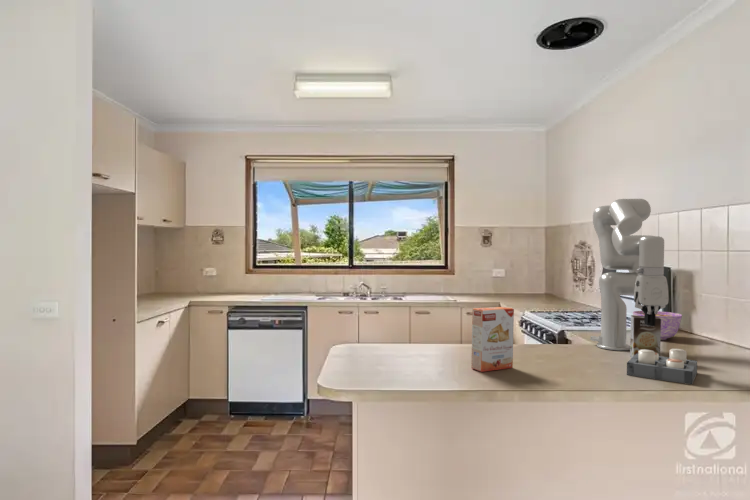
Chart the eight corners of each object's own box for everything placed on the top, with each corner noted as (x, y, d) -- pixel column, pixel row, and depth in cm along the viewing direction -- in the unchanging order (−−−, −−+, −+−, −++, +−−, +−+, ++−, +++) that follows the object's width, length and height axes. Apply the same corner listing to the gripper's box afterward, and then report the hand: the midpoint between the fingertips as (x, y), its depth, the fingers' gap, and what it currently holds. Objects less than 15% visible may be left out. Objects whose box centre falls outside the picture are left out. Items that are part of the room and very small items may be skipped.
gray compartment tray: (626, 374, 158) (626, 362, 158) (636, 364, 173) (636, 353, 173) (692, 384, 147) (692, 371, 147) (696, 372, 162) (697, 360, 162)
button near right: (665, 376, 154) (665, 360, 154) (667, 373, 158) (667, 357, 158) (683, 379, 151) (683, 362, 151) (684, 376, 155) (684, 359, 155)
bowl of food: (641, 341, 216) (641, 315, 216) (626, 333, 236) (626, 310, 236) (690, 343, 213) (690, 317, 213) (670, 335, 233) (670, 311, 233)
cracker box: (482, 373, 160) (482, 310, 160) (470, 368, 165) (471, 307, 165) (514, 368, 166) (514, 307, 166) (502, 364, 172) (502, 305, 172)
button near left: (637, 366, 159) (637, 350, 159) (639, 364, 163) (639, 348, 163) (653, 369, 156) (653, 352, 156) (656, 366, 160) (656, 350, 160)
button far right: (668, 366, 160) (668, 350, 160) (670, 363, 164) (670, 347, 164) (685, 368, 157) (685, 352, 157) (687, 365, 161) (687, 349, 161)
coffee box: (632, 360, 179) (633, 317, 179) (629, 356, 185) (630, 315, 185) (660, 362, 176) (661, 318, 176) (656, 358, 182) (657, 316, 182)
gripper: (638, 273, 161) (637, 327, 162) (679, 272, 163) (677, 326, 164) (623, 271, 168) (622, 323, 169) (663, 271, 170) (661, 322, 171)
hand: (649, 325), depth 166 cm, fingers closed
